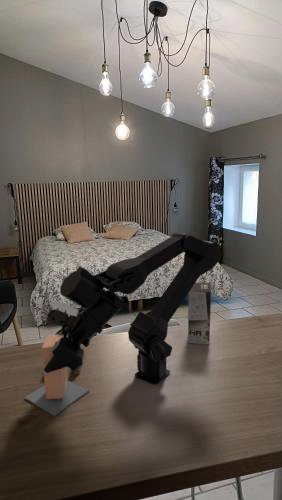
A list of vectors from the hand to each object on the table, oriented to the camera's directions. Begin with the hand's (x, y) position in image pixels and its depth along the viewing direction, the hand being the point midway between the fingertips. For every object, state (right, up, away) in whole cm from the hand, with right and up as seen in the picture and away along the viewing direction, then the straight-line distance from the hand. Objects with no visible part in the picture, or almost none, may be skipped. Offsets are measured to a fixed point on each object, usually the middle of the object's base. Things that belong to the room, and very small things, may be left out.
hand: (48, 363), depth 77 cm
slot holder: (+1, -5, +14) cm, 15 cm away
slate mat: (+1, -8, +2) cm, 8 cm away
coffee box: (+38, -2, +29) cm, 48 cm away
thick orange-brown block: (+2, -6, +1) cm, 7 cm away
